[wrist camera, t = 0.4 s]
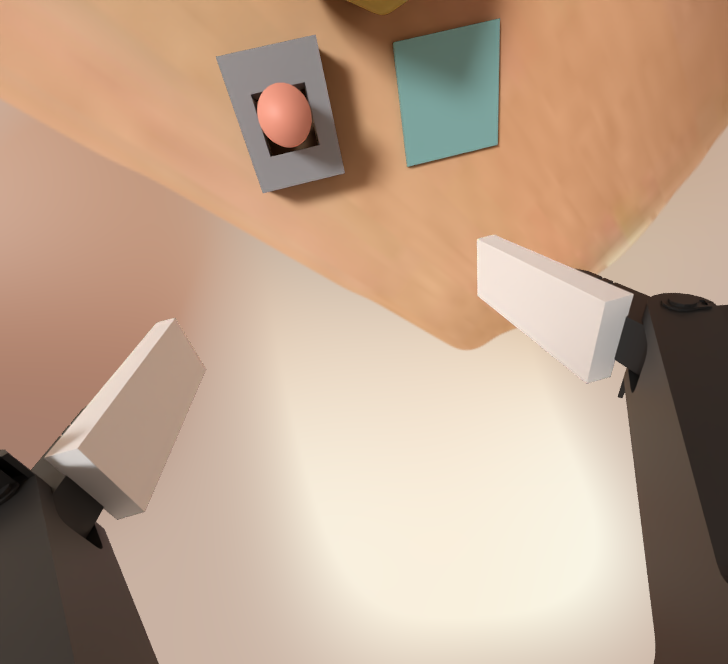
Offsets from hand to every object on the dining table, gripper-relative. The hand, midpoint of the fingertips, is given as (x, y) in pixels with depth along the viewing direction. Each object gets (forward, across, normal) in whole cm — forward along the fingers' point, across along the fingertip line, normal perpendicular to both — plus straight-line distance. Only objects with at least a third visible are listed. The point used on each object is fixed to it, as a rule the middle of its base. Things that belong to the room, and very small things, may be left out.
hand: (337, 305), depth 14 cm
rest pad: (+24, +16, +7) cm, 29 cm away
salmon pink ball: (+21, 0, +8) cm, 22 cm away
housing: (+24, 0, +8) cm, 25 cm away
